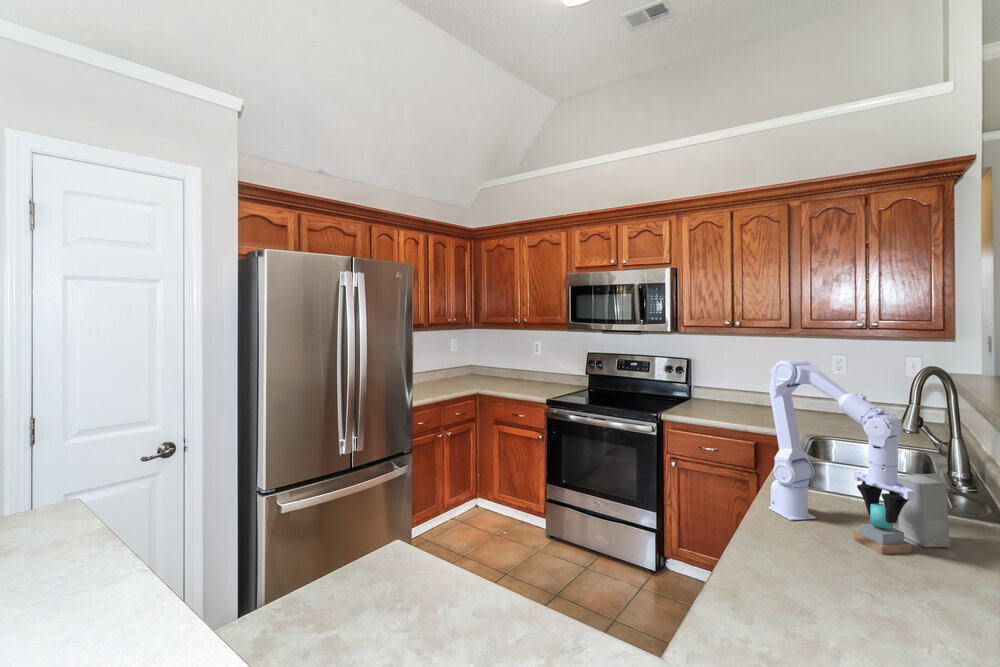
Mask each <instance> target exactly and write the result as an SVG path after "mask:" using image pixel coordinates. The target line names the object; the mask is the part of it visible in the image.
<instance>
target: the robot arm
mask: <svg viewBox="0 0 1000 667" xmlns="http://www.w3.org/2000/svg"><path fill="white" fill-rule="evenodd" d="M770 374H771V379H770V382H769V383H770V384H769V387H768V391H769V392H768V393H769V397H770V403H771V409H772V415H773V421H774V426H775V432H776V438H777V444H778V451H777V453H776V455H775V456H774V457H773V459H774V466H773V469H772V470H773V475H774V478H775V480H773V481H772V483H771V485H770V506H767V508H768V509H769V510H771V511H773V512H775V513H776V514H778V515H780V516H782V517H784V518H785V519H788V520H789V521H799V520H800V521H802V520H815V519H816V518H817V517H816V516H814V515H813V514H812V513H811V514H810V513H809V483H810V480H811V479H812V478H813V477H814V474H815V469H814V466H813V465H812V463H811V462H810V459H809V456H808V453H806V451H804V450H803V449H802V446H801V441H800V435H799V430H798V423H797V418H796V414H795V407H794V403H793V397H792V394H793V393H794V392H795V390H796V389H797V388H799V386H800V385H810V386H813V387H815V388H816V389H817V390H819V391H821V392H822V393H824V394H825V395H826V396H828V397H829V398H831V399H833V400H834V401H836V402H837V403H838V408H839V409H840V411H841V412H843V413H844V414H845V415H847V416H848V417H850V418H851V419H852V420H854V421H855V422H856V423H858V424H859V425H861V427H863V432H864V433H865V434H866V435H867V437H868V452H867V454H868V456H867V457H868V458H867V460H868V461H867V465H868V466H867V473H863V472H862V471H861V472H860V471H858V472H853V480H854V481H856V482H861V484H857V489H858V491H859V493H860V494H861V496H862V499H863V501H864V504H865V507H866V511H867V514H868V515H870V507H871V504H872V503H879V504H880V498H881V497H882V499H883V504H885V510H886V521H887V523H893V524H896V523H898V522H897V521H898V517H899V514H900V512H901V510H902V508H903V506H904V505H905V504H906V502H907V501H908V500H909V499H915V491H913V490H911V489H909V488H907V487H905V486H903V485H901V484H899V483H898V475H899V474H898V473H899V472H898V471H899V470H898V468H899V436H900V435H901V433H903V431H904V424H903V421H902V420H901V418H900V417H898V416H897V414H895V413H892V412H885V410H884V409H883V408H882V407H878V406H876V405H875V404H873V403H872V402H870V401H869V400H868V399H867V396H866V395H865V394H863V393H861V394H859V393H857V392H852V393H849V392H848V391H847V390H845V389H844V388H843V387H841V386H840V385H839V384H837V383H836V382H835V381H834V380H832V379H831V378H830V377H829V376H828V375H826V374H825V373H824V372H822V371H821V369H820V368H818V366H816V365H814V364H812V363H811V362H810V361H808V360H807V359H799V360H798V359H797V360H781V361H778V362H776V364H775V365H774V366H773V367H772V368H771V369H770ZM882 491H887V493H886V492H884V493H882Z"/></svg>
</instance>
